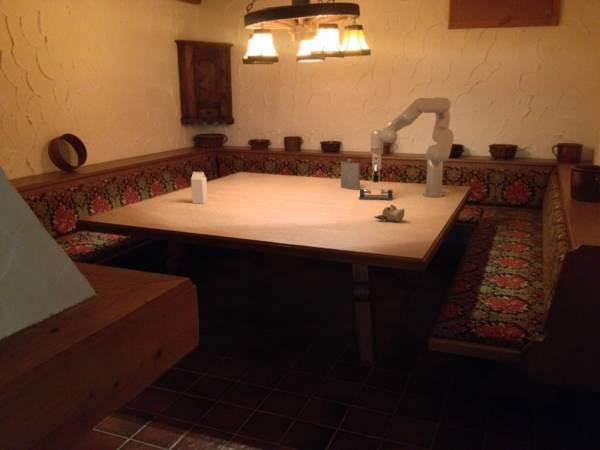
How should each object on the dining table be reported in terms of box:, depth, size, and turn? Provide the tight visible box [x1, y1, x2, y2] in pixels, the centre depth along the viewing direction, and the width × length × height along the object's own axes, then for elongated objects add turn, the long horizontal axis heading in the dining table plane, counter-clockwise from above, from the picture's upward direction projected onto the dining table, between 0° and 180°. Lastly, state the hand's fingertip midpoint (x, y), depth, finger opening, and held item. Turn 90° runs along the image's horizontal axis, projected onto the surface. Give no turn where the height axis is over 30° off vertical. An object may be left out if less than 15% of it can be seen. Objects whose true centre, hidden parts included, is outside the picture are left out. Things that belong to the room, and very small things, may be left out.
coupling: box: [371, 171, 381, 184], centre depth 324 cm, size 4×4×7 cm
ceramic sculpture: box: [374, 204, 405, 223], centre depth 275 cm, size 11×9×15 cm
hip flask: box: [340, 158, 361, 191], centre depth 358 cm, size 16×4×20 cm, turn 43°
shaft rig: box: [358, 188, 394, 201], centre depth 327 cm, size 20×9×6 cm, turn 78°
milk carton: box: [190, 171, 209, 205], centre depth 325 cm, size 7×7×19 cm
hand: (376, 180), depth 325 cm, fingers closed on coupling, 4 cm apart
